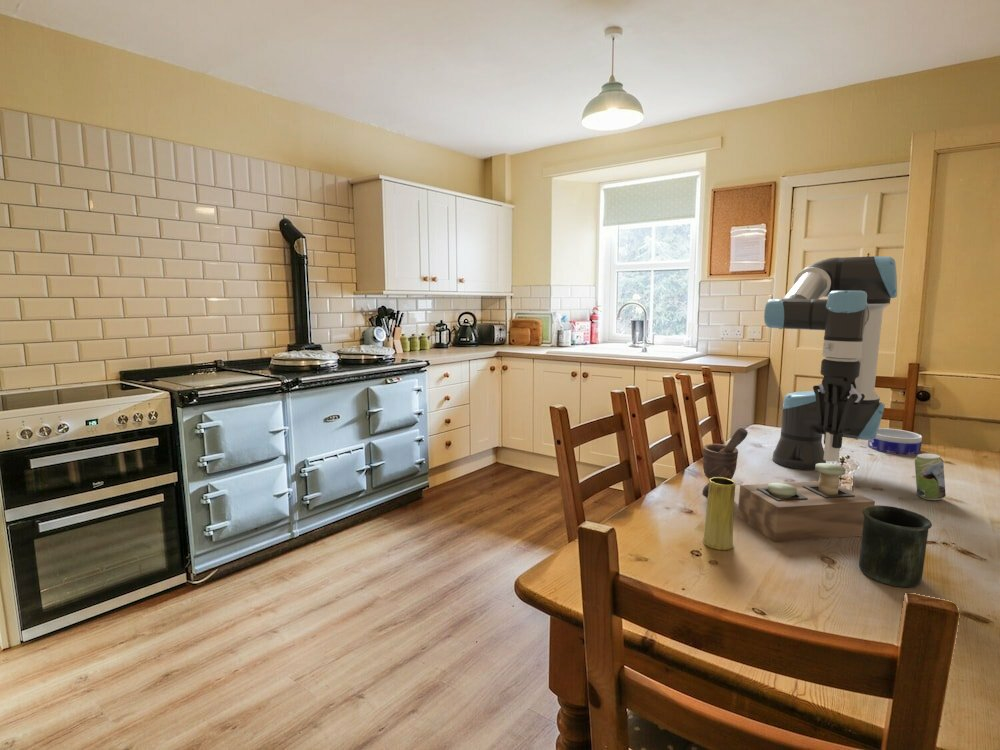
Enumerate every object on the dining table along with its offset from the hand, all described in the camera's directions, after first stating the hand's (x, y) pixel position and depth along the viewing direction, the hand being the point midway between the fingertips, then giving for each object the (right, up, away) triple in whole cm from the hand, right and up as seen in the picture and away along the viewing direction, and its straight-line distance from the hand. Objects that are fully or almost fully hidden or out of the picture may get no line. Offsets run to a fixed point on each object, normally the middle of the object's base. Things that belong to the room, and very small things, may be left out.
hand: (830, 460), depth 128 cm
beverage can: (+38, -13, +20) cm, 45 cm away
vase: (-30, -17, -8) cm, 35 cm away
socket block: (-6, -16, +2) cm, 17 cm away
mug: (0, -19, -20) cm, 27 cm away
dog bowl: (+62, -7, +67) cm, 92 cm away
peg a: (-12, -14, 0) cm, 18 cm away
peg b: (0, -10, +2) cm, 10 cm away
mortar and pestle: (-17, -13, +20) cm, 29 cm away
